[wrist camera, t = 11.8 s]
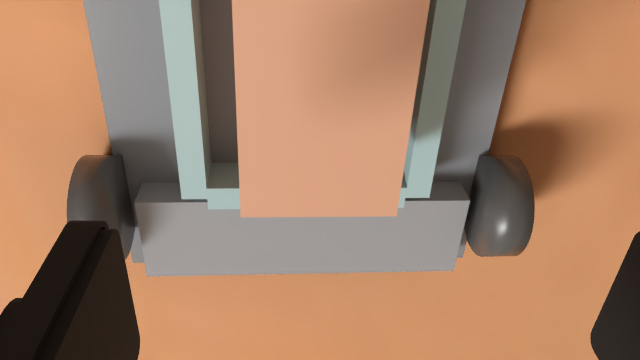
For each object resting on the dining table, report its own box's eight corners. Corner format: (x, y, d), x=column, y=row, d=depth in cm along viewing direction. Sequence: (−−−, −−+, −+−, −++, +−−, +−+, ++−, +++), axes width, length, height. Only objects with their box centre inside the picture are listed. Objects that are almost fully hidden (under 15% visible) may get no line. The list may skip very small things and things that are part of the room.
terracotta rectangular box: (387, -49, 18) (431, -7, 13) (368, 131, 22) (396, 216, 17) (242, -55, 18) (231, -14, 13) (247, 130, 22) (240, 217, 17)
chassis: (615, -293, 16) (717, -334, 12) (475, 244, 27) (507, 307, 24) (-8, -343, 15) (-103, -406, 11) (116, 249, 26) (90, 317, 22)
